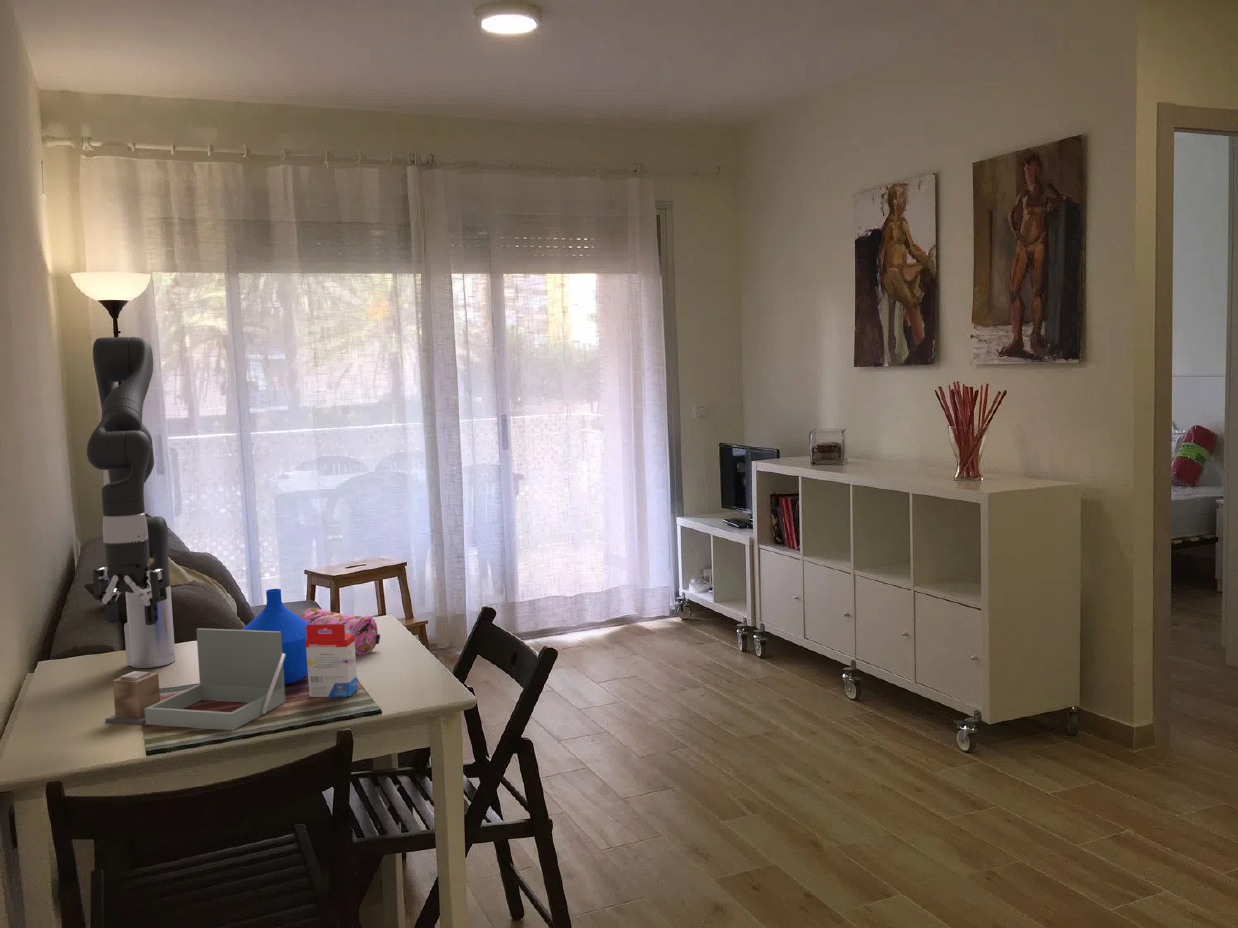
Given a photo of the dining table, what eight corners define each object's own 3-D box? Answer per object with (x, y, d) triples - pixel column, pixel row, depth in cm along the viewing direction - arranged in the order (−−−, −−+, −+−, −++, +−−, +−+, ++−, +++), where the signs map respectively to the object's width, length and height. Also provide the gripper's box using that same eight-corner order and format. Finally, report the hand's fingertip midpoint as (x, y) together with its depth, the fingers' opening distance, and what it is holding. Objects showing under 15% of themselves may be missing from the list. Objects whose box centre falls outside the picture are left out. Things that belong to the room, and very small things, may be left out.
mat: (105, 721, 191) (105, 718, 191) (136, 708, 198) (135, 705, 198) (141, 724, 189) (141, 721, 189) (171, 710, 196) (171, 707, 196)
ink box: (358, 690, 206) (354, 618, 205) (349, 697, 201) (345, 624, 200) (317, 690, 207) (313, 618, 206) (307, 697, 202) (303, 624, 201)
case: (145, 724, 189) (140, 649, 188) (203, 697, 204) (199, 628, 203) (236, 730, 184) (232, 653, 182) (289, 702, 199) (285, 631, 198)
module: (115, 716, 192) (112, 677, 191) (136, 707, 197) (133, 669, 196) (140, 718, 190) (137, 679, 190) (160, 709, 195) (157, 670, 195)
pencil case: (384, 649, 238) (383, 612, 237) (354, 659, 230) (352, 620, 229) (322, 639, 249) (320, 603, 249) (291, 648, 242) (289, 611, 241)
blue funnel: (215, 682, 214) (209, 592, 213) (294, 662, 228) (289, 578, 226) (261, 698, 202) (256, 603, 201) (341, 676, 216) (336, 587, 214)
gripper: (78, 540, 189) (85, 627, 190) (144, 542, 185) (150, 630, 187) (108, 534, 196) (115, 617, 198) (172, 535, 192) (178, 620, 194)
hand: (132, 623), depth 192 cm, fingers open, 8 cm apart
